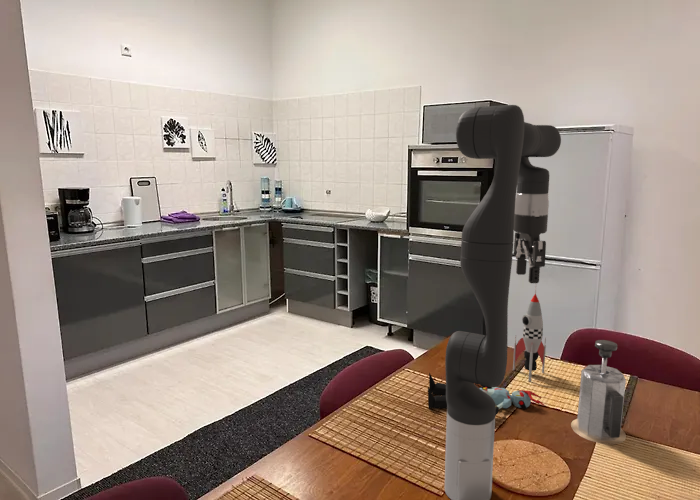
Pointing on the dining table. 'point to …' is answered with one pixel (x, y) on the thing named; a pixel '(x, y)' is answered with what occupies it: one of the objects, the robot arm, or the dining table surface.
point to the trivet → (618, 440)
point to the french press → (601, 403)
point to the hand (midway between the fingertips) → (527, 278)
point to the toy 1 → (497, 394)
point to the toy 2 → (531, 338)
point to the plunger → (605, 351)
